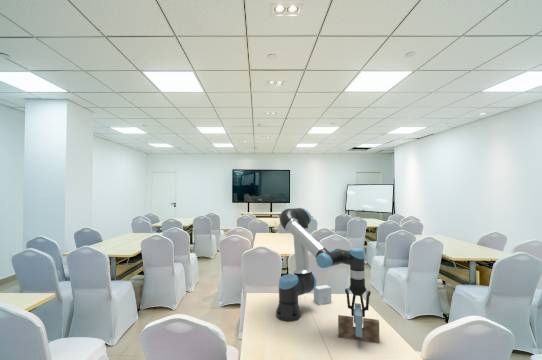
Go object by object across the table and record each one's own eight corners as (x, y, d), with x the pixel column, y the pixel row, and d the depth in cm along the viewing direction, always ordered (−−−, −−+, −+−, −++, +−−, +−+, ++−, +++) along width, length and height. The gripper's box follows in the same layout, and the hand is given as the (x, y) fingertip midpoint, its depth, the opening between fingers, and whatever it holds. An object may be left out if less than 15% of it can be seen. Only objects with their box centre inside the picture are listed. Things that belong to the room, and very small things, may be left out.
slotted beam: (338, 337, 144) (338, 317, 144) (338, 334, 146) (338, 315, 147) (379, 342, 138) (379, 322, 139) (378, 339, 141) (378, 319, 142)
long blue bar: (355, 336, 135) (355, 315, 136) (355, 321, 150) (354, 303, 151) (362, 337, 134) (362, 316, 135) (360, 322, 150) (360, 303, 150)
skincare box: (326, 299, 195) (326, 284, 195) (331, 302, 189) (331, 287, 189) (313, 301, 190) (313, 286, 191) (318, 305, 185) (318, 289, 185)
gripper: (341, 278, 148) (342, 323, 146) (373, 280, 143) (374, 327, 142) (342, 274, 155) (342, 317, 154) (372, 276, 150) (373, 321, 149)
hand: (358, 322), depth 148 cm, fingers closed on long blue bar, 3 cm apart
